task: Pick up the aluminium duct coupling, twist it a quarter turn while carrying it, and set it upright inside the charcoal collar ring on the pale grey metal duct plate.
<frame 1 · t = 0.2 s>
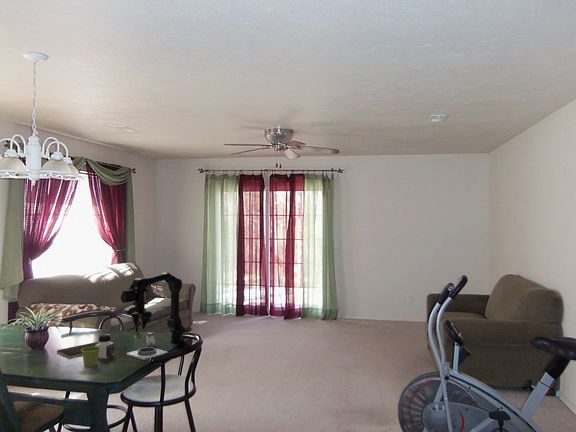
hand: (139, 327, 259), 14 cm above the table, fingers open, 9 cm apart
duct plate: (147, 354, 254), on the table
duct coupling: (150, 346, 270), on the table
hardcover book: (83, 352, 260), on the table
medicine bottle: (104, 356, 250), on the table
plant pot: (90, 366, 234), on the table
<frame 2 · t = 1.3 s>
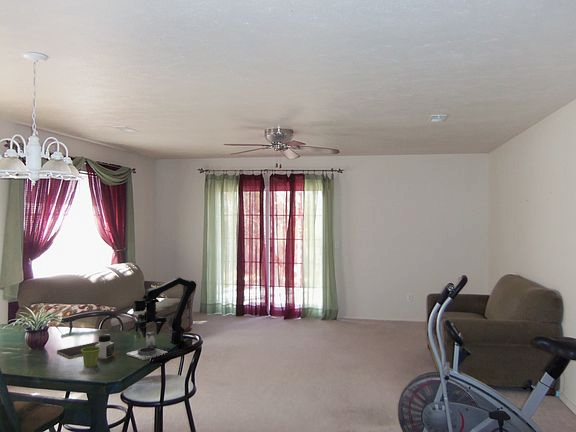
hand: (151, 336, 270), 6 cm above the table, fingers open, 9 cm apart
nothing on the table moved.
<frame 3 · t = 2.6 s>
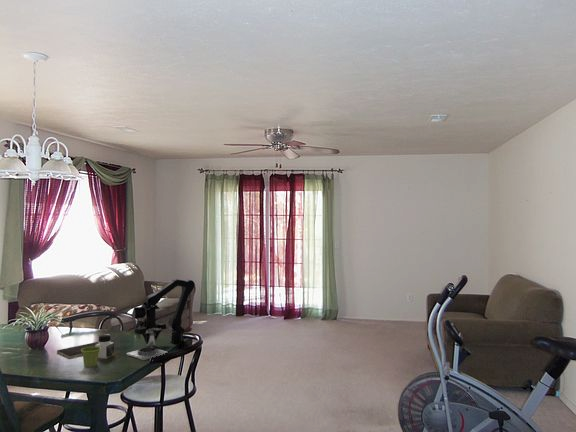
hand: (150, 342, 270), 2 cm above the table, fingers closed on duct coupling, 5 cm apart
duct coupling: (150, 346, 270), on the table, touching gripper
everything else where it was.
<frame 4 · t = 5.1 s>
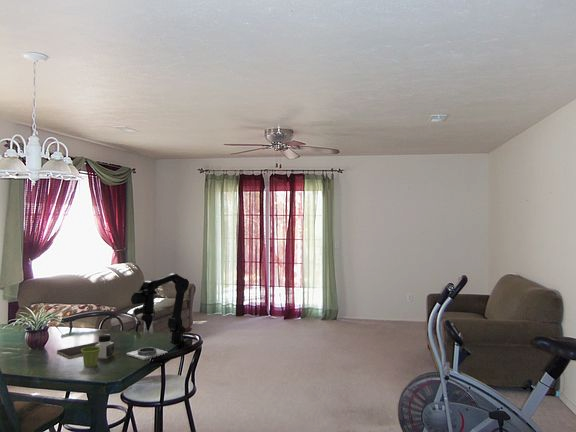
hand: (148, 329, 262), 12 cm above the table, fingers closed on duct coupling, 5 cm apart
duct coupling: (148, 332, 262), point 10 cm above the table, touching gripper
everything else where it was.
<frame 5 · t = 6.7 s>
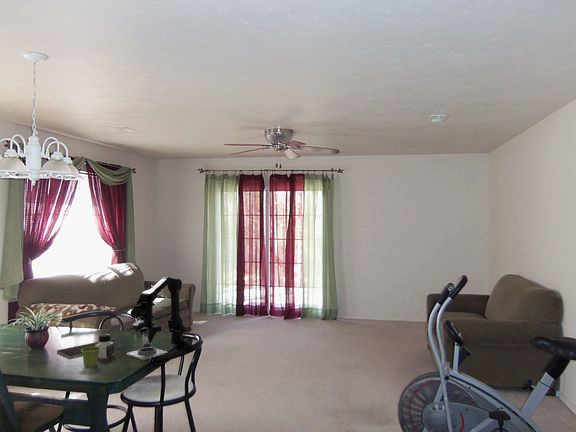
hand: (147, 342, 254), 7 cm above the table, fingers closed on duct coupling, 5 cm apart
duct coupling: (147, 345, 254), point 5 cm above the table, touching gripper
everything else where it was.
when the fingers open (4 cm above the table, at t = 7.9 s): duct coupling drops 1 cm, resting on duct plate.
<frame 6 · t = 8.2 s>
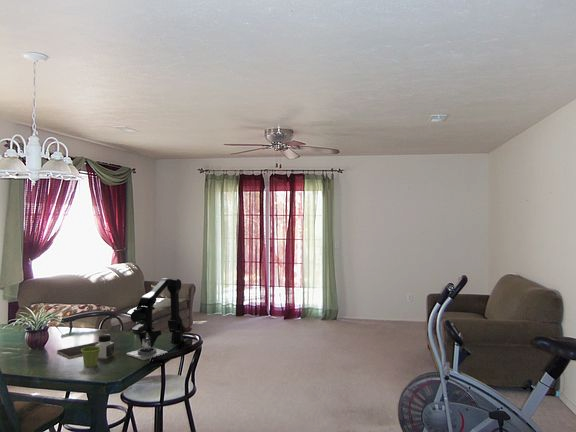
hand: (147, 346, 254), 4 cm above the table, fingers open, 8 cm apart
duct coupling: (146, 352, 254), point 1 cm above the table, touching duct plate
everything else where it was.
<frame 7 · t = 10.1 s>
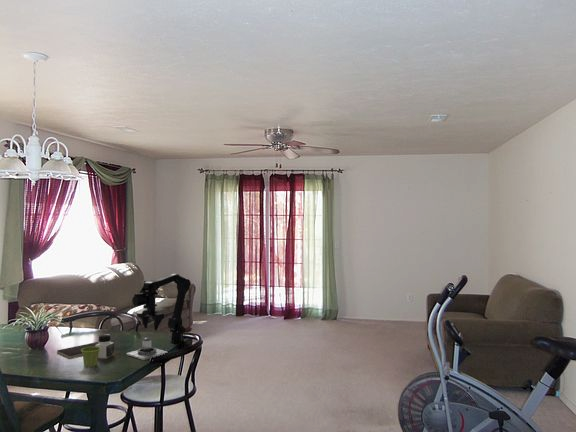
hand: (150, 329, 264), 12 cm above the table, fingers open, 9 cm apart
nothing on the table moved.
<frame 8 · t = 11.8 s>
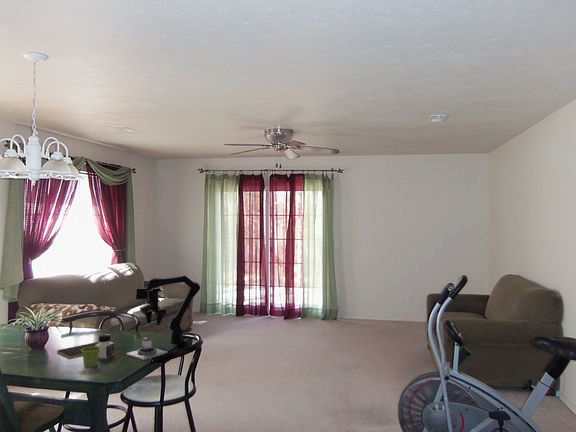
hand: (153, 324, 275), 12 cm above the table, fingers open, 9 cm apart
nothing on the table moved.
at the end: duct coupling 0.0 cm off-centre on the duct plate, point 1.1 cm above the duct plate's base; duct coupling tilted 0°; the gripper is holding nothing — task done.
